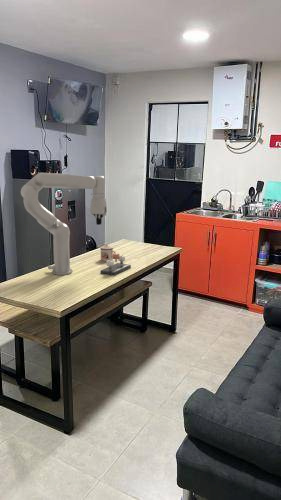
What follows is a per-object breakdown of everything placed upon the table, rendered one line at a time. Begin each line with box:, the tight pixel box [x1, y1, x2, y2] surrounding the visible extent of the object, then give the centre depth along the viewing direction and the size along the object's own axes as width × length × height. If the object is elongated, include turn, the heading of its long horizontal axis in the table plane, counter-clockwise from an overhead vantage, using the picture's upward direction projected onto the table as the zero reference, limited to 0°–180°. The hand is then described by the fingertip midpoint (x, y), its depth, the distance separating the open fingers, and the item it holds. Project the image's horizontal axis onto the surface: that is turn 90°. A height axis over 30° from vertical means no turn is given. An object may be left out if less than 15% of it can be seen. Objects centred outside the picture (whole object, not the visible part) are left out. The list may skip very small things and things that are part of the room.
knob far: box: [117, 255, 126, 264], centre depth 250 cm, size 4×4×5 cm
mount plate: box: [100, 262, 132, 277], centre depth 245 cm, size 21×10×2 cm, turn 152°
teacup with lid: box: [100, 243, 117, 262], centre depth 269 cm, size 12×9×12 cm
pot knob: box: [113, 252, 120, 263], centre depth 243 cm, size 4×4×5 cm
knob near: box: [106, 259, 115, 269], centre depth 238 cm, size 4×4×5 cm
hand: (98, 224), depth 244 cm, fingers closed
